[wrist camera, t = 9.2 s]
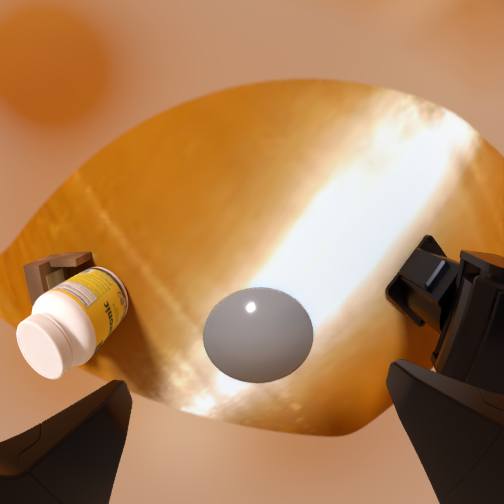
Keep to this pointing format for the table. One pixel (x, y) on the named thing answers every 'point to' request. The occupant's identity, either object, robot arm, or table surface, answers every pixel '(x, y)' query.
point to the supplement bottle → (72, 321)
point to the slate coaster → (258, 335)
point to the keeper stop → (51, 272)
